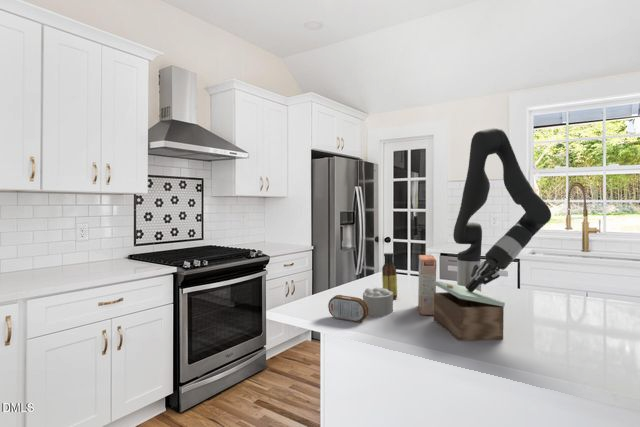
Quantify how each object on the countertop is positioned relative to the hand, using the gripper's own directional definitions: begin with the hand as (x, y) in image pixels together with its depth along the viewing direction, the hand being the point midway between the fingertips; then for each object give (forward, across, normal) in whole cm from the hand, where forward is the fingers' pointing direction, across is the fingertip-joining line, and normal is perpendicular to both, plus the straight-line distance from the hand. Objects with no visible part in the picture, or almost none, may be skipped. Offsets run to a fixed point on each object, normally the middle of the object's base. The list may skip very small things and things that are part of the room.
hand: (468, 290), depth 126 cm
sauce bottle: (+19, -43, -1) cm, 47 cm away
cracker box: (+13, -23, +6) cm, 27 cm away
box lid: (+1, 0, +1) cm, 2 cm away
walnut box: (+10, -1, +9) cm, 13 cm away
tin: (+36, -15, -18) cm, 43 cm away
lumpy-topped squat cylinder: (+27, -24, -8) cm, 37 cm away
